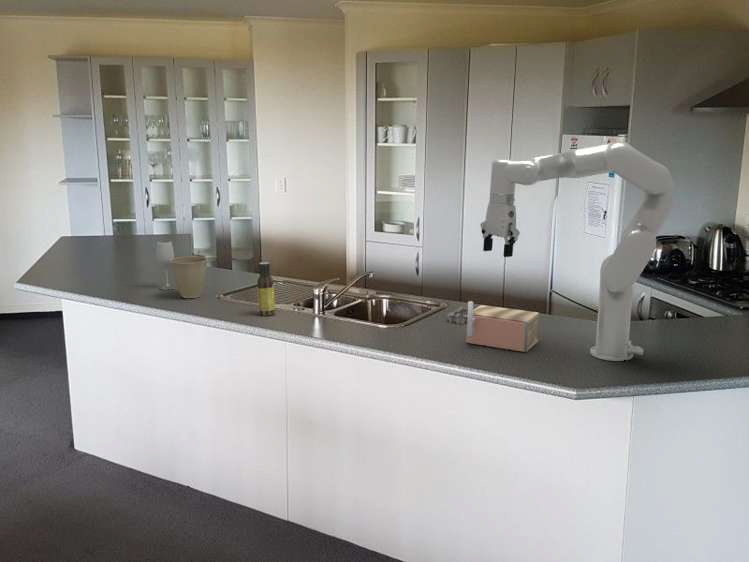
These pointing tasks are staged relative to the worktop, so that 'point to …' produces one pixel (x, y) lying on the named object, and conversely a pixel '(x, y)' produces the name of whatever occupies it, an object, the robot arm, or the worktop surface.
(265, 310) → the sauce bottle
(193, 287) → the plant pot
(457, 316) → the egg carton
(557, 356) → the worktop surface
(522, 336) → the door
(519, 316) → the cabinet
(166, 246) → the wineglass
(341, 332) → the worktop surface
